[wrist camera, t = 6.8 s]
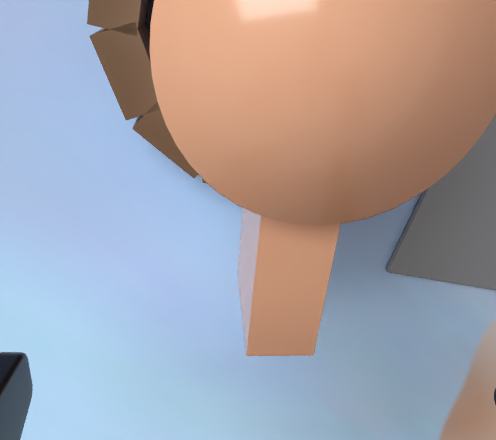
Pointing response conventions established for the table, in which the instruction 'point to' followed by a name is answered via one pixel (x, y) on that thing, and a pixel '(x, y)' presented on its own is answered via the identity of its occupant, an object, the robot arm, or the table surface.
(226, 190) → the peach rounded piece
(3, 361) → the robot arm
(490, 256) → the mat
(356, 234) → the table surface
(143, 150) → the table surface
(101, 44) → the collar
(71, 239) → the table surface
